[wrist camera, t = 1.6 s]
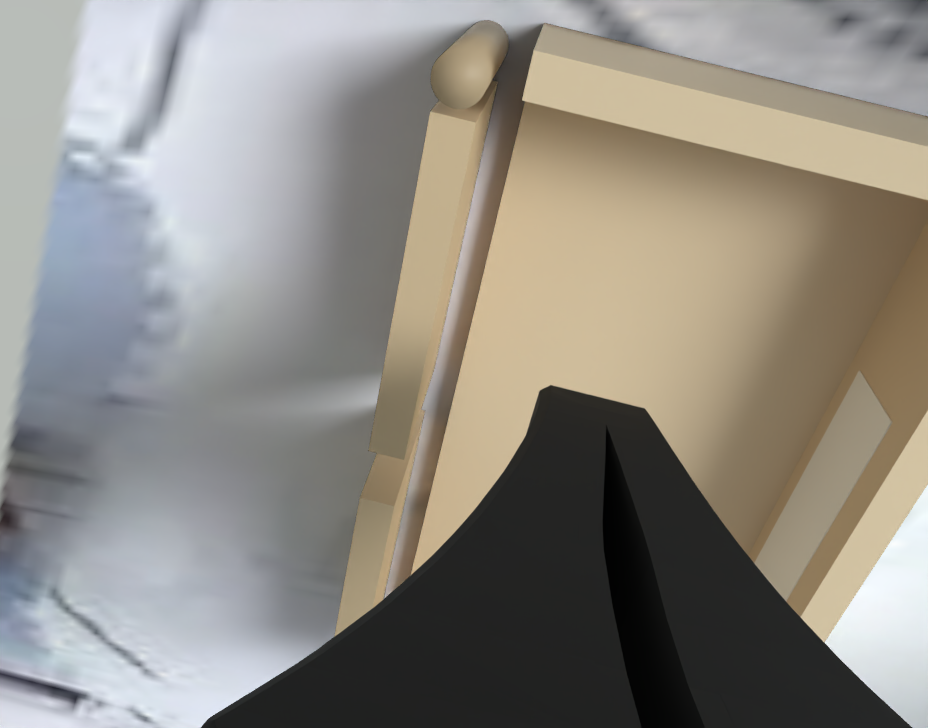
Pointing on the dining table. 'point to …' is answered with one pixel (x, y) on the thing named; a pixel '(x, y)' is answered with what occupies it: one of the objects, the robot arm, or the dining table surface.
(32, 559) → the dining table surface
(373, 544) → the flap
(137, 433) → the dining table surface
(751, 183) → the open cardboard tray
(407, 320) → the flap
